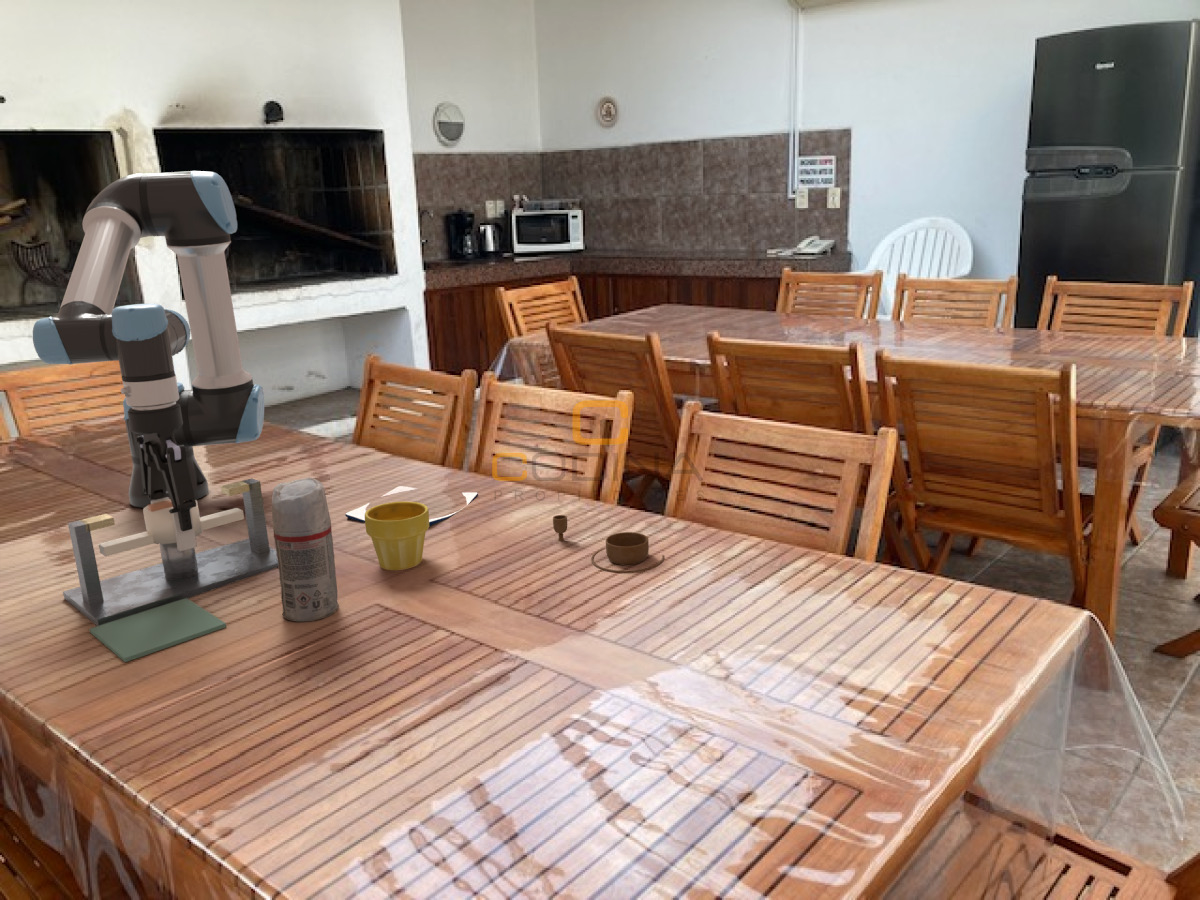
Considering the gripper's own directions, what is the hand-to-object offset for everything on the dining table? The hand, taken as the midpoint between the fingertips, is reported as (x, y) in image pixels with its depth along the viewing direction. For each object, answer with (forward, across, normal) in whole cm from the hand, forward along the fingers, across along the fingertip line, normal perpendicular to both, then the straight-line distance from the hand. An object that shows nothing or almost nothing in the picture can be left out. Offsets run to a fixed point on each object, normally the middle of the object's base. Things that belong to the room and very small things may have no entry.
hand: (176, 542), depth 152 cm
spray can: (+7, +28, +8) cm, 30 cm away
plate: (+7, +2, +44) cm, 45 cm away
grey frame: (+7, 0, 0) cm, 7 cm away
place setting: (+8, +48, +53) cm, 72 cm away
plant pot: (+7, +23, +27) cm, 36 cm away
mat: (+7, +16, -10) cm, 20 cm away
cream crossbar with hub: (-1, 0, 0) cm, 1 cm away
